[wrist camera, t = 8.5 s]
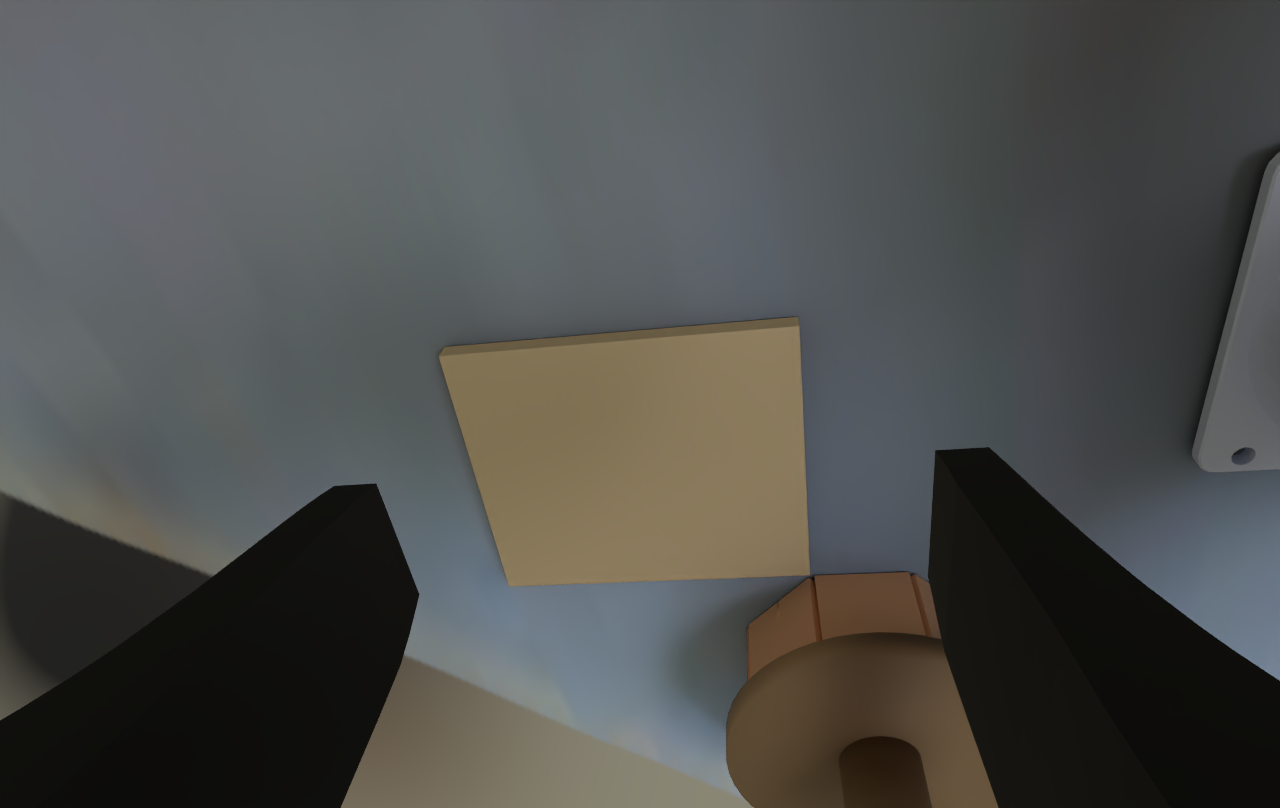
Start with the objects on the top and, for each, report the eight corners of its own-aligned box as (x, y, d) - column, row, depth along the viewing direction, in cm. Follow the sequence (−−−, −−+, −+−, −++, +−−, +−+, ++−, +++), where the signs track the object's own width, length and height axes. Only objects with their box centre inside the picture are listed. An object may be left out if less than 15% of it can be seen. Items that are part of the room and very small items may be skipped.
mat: (797, 317, 20) (799, 326, 19) (808, 563, 24) (810, 575, 23) (444, 346, 21) (438, 356, 20) (513, 574, 25) (508, 586, 25)
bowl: (987, 569, 23) (1018, 651, 21) (969, 725, 27) (995, 812, 24) (741, 578, 24) (742, 657, 22) (756, 727, 28) (759, 810, 25)
